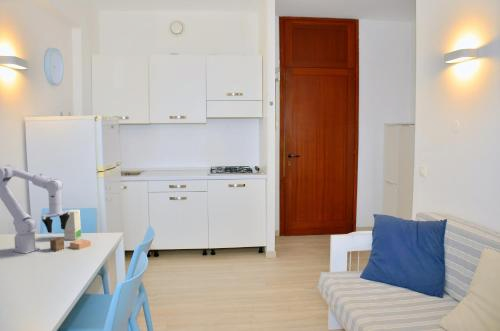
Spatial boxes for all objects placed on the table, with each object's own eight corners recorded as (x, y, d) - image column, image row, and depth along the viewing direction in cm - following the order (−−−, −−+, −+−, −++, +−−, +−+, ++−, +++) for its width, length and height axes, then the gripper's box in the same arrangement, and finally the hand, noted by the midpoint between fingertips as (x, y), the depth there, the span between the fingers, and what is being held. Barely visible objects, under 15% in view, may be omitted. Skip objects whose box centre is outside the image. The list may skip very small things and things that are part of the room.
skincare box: (75, 240, 228) (74, 212, 226) (63, 240, 228) (62, 212, 227) (81, 236, 236) (80, 208, 235) (70, 236, 236) (68, 209, 235)
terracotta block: (70, 248, 215) (69, 242, 215) (81, 244, 221) (81, 239, 221) (79, 250, 212) (79, 244, 211) (90, 246, 218) (90, 240, 217)
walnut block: (50, 250, 210) (49, 239, 210) (58, 248, 214) (57, 237, 214) (56, 251, 208) (55, 240, 208) (64, 249, 212) (63, 238, 212)
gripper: (47, 207, 200) (48, 235, 201) (73, 202, 213) (74, 228, 214) (37, 205, 203) (39, 233, 205) (64, 201, 216) (65, 226, 217)
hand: (56, 230), depth 210 cm, fingers open, 7 cm apart
